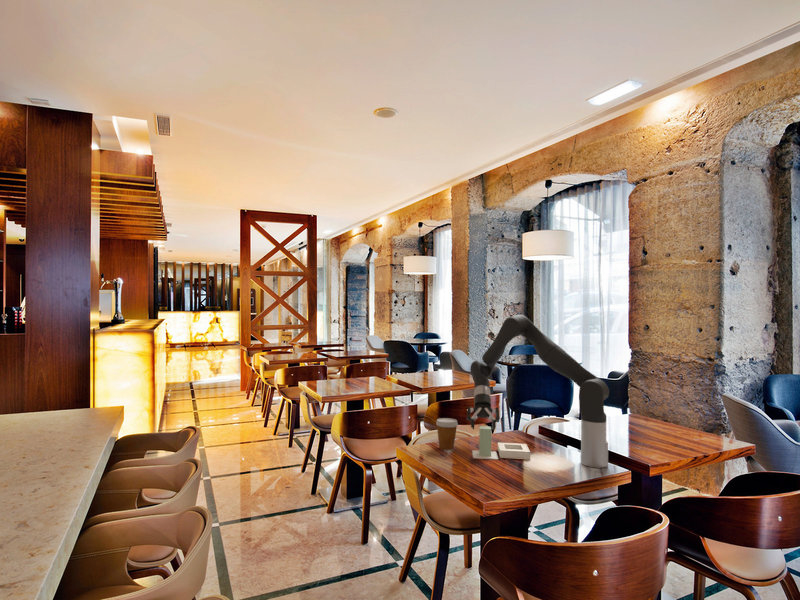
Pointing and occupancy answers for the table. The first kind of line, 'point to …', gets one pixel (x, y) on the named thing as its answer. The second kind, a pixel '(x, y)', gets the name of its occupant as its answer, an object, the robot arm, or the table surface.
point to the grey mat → (477, 456)
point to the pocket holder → (513, 450)
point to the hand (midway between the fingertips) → (483, 428)
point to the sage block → (484, 441)
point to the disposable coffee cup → (446, 432)
